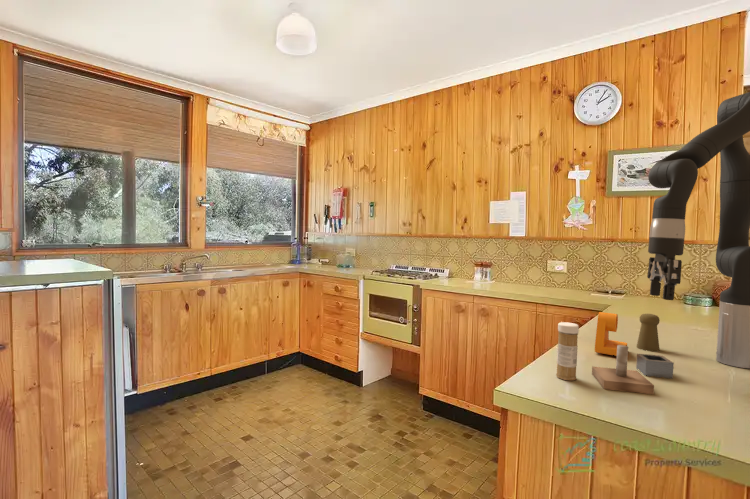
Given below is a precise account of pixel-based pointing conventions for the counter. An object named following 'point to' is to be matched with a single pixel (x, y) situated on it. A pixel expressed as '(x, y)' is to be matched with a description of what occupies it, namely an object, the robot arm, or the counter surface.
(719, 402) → the counter surface
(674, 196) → the robot arm
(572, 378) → the sprinkles bottle
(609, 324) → the bracket
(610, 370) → the wooden peg stand
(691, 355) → the counter surface
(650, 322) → the olive pawn shape
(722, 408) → the counter surface
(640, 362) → the collar
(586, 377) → the counter surface
